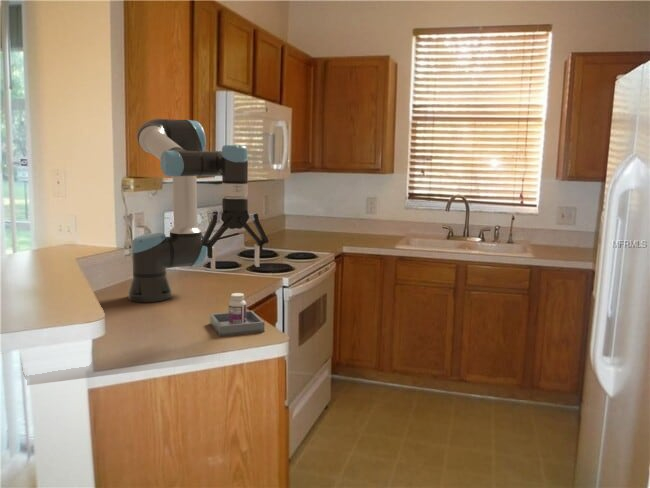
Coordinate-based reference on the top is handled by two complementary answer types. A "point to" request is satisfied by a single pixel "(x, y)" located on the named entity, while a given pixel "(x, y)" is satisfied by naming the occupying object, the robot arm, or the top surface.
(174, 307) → the top surface
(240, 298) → the pill bottle
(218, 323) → the bin
